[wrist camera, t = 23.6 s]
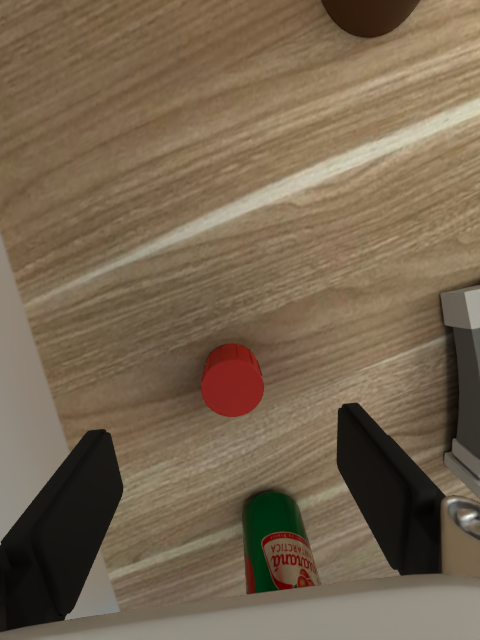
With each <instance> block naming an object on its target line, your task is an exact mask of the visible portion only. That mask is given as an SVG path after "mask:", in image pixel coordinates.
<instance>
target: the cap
mask: <svg viewBox="0 0 480 640" xmlns="http://www.w3.org/2000/svg"><path fill="white" fill-rule="evenodd" d="M201 381H202V386H201V392H202V397H203V399H204V401H205V403H206V405H207V406H208V407H209V408H210V409H211V410H212V411H214V412H215V413H217V414H219V415H222V416H227V417H237V416H241V415H244V414H247V413H249V412H250V411H252V410H253V409H254V408H255V407H256V406H257V405H258V404H259V402H260V401H261V398H262V396H263V391H264V384H263V380H262V373H261V370H260V367H259V364H258V361H257V360H256V358H255V356H254V354H253V353H252V352H251V351H250V350H249V349H247V348H246V347H244V346H241V345H238V344H226V345H222V346H220V347H218V348H217V349H215V350H214V351H213V352H212V353H210V355H209V357H208V359H207V361H206V365H205V366H204V371H203V376H202V380H201Z"/></svg>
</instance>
